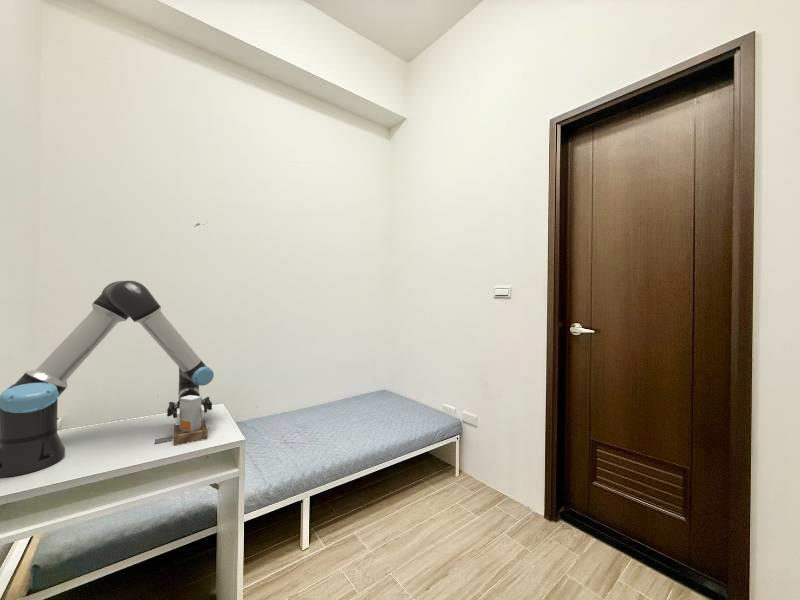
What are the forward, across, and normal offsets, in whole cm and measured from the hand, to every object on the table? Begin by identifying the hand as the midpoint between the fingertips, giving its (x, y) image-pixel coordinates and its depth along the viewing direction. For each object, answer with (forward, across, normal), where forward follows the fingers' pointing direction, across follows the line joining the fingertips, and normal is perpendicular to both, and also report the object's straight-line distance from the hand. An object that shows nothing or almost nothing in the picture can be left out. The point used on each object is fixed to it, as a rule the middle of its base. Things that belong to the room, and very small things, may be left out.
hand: (190, 415), depth 115 cm
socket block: (-5, 0, -9) cm, 10 cm away
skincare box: (-5, 0, -7) cm, 8 cm away
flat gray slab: (-5, +8, -9) cm, 13 cm away
